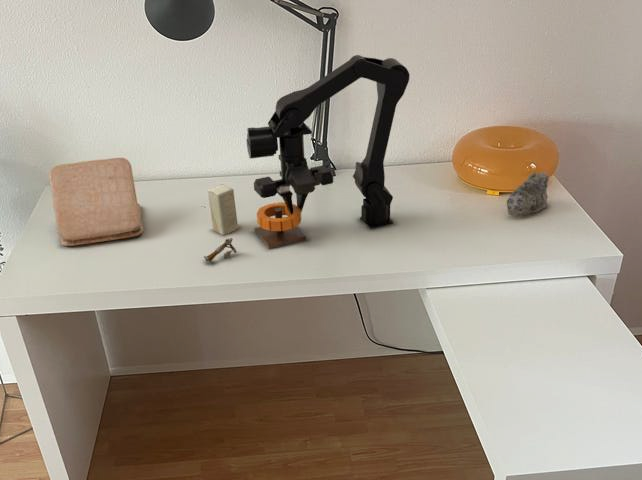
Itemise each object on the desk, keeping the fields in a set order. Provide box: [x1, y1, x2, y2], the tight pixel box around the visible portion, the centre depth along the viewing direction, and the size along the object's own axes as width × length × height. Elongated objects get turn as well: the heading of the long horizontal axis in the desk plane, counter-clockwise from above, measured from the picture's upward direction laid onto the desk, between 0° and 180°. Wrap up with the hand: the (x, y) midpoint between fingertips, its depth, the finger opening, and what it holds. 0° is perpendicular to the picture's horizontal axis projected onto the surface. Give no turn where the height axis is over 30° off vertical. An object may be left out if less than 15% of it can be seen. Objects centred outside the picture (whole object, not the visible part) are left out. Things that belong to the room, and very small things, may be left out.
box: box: [207, 184, 239, 236], centre depth 190 cm, size 5×4×11 cm
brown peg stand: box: [253, 208, 307, 250], centre depth 187 cm, size 10×10×7 cm
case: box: [48, 157, 144, 247], centre depth 193 cm, size 20×21×16 cm
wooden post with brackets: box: [203, 237, 238, 265], centre depth 180 cm, size 2×8×4 cm, turn 124°
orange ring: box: [256, 202, 302, 231], centre depth 186 cm, size 11×11×3 cm
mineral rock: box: [506, 171, 549, 216], centre depth 194 cm, size 13×11×10 cm
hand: (295, 213), depth 188 cm, fingers closed on orange ring, 2 cm apart
